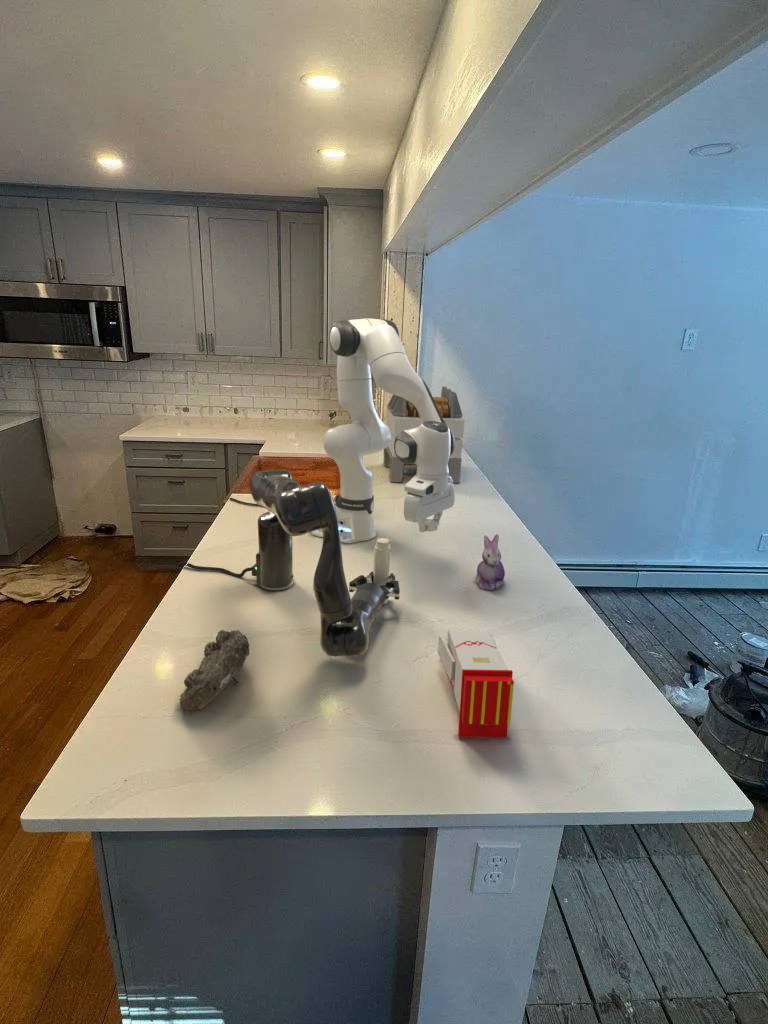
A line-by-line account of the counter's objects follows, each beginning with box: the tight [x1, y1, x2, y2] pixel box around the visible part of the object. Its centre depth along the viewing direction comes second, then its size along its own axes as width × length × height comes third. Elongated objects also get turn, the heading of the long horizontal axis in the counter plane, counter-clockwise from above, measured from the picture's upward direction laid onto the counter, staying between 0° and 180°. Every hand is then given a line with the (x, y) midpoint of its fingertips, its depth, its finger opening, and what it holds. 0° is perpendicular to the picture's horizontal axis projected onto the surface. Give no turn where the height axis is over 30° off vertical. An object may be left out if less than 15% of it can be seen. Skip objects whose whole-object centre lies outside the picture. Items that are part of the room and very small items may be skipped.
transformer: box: [383, 386, 465, 484], centre depth 268 cm, size 34×33×41 cm
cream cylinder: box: [372, 537, 391, 605], centre depth 151 cm, size 4×4×18 cm
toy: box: [437, 628, 515, 738], centre depth 117 cm, size 12×13×30 cm
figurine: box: [475, 534, 506, 591], centre depth 164 cm, size 9×10×15 cm
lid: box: [425, 518, 439, 532], centre depth 160 cm, size 5×5×2 cm
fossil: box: [179, 629, 250, 712], centre depth 117 cm, size 22×10×15 cm
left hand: (383, 575), depth 154 cm, fingers closed on cream cylinder, 4 cm apart
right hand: (429, 528), depth 160 cm, fingers closed on lid, 4 cm apart
